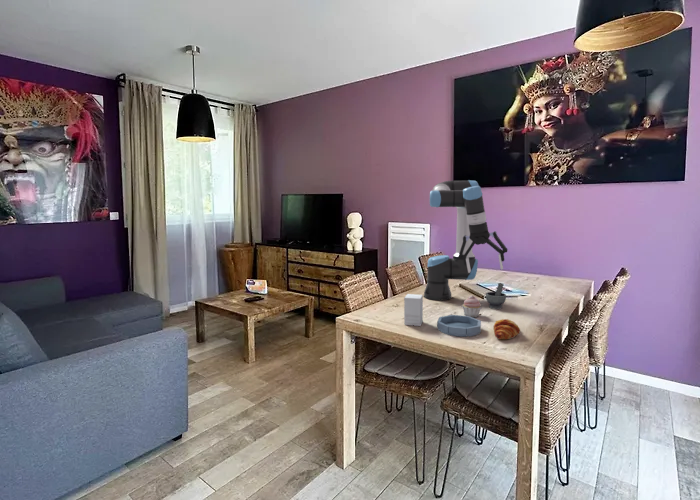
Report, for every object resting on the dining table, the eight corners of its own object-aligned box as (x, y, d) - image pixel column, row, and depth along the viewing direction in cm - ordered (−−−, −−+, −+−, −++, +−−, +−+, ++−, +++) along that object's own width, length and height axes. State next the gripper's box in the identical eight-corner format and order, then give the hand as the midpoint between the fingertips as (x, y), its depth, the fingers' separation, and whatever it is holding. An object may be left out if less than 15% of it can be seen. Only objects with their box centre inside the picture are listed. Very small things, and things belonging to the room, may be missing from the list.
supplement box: (423, 321, 182) (423, 294, 180) (420, 326, 175) (420, 298, 173) (406, 320, 184) (407, 293, 182) (403, 325, 177) (404, 297, 175)
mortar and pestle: (499, 311, 197) (500, 287, 195) (481, 307, 203) (482, 284, 202) (509, 306, 204) (511, 283, 202) (492, 303, 211) (493, 281, 209)
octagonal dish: (440, 320, 182) (440, 313, 182) (481, 324, 176) (481, 317, 175) (434, 333, 165) (434, 325, 165) (480, 338, 159) (480, 330, 159)
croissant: (504, 333, 175) (496, 316, 176) (527, 327, 169) (518, 309, 171) (491, 348, 158) (483, 329, 159) (516, 341, 152) (507, 321, 153)
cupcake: (472, 319, 183) (473, 298, 182) (457, 314, 191) (457, 294, 190) (486, 316, 188) (486, 295, 187) (470, 311, 196) (471, 291, 195)
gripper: (446, 228, 172) (455, 275, 175) (507, 219, 161) (515, 269, 164) (449, 225, 178) (458, 270, 182) (509, 216, 167) (516, 264, 171)
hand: (485, 270), depth 173 cm, fingers open, 13 cm apart
